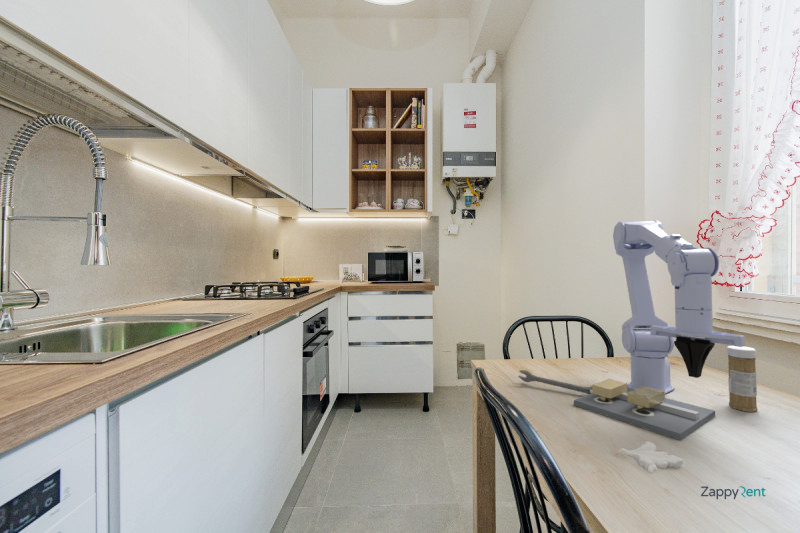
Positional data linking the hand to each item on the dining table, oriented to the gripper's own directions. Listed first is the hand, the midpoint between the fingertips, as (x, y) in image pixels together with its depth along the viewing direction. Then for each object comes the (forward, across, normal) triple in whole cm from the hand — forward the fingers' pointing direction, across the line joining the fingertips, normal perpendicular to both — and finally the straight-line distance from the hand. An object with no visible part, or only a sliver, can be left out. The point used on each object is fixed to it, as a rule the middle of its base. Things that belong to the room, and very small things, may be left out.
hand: (694, 376), depth 69 cm
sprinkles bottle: (+10, +3, +17) cm, 20 cm away
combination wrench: (+9, -27, -5) cm, 29 cm away
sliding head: (+8, -7, -3) cm, 11 cm away
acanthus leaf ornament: (+10, +1, -22) cm, 24 cm away
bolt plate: (+9, -9, -2) cm, 13 cm away
